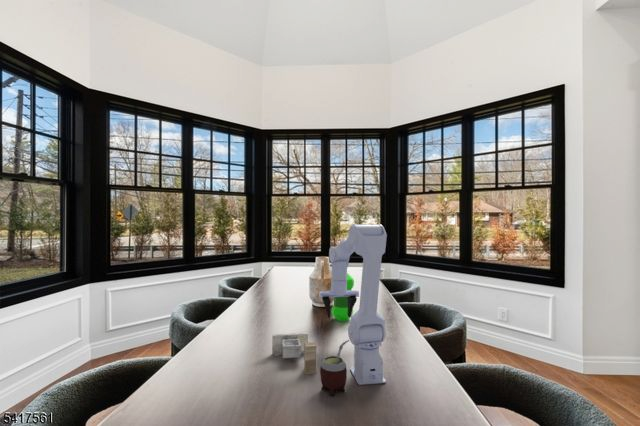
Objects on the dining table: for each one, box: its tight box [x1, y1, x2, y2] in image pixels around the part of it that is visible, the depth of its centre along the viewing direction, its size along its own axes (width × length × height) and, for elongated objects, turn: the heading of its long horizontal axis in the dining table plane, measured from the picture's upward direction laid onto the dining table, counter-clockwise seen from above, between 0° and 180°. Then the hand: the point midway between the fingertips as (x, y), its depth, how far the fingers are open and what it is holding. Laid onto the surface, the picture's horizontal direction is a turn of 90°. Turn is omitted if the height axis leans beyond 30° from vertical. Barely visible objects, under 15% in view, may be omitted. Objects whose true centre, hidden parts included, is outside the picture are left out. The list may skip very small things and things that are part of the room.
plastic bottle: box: [330, 272, 355, 322], centre depth 145 cm, size 10×10×25 cm
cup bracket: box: [271, 332, 309, 359], centre depth 104 cm, size 8×12×6 cm
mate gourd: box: [319, 339, 350, 398], centre depth 85 cm, size 8×8×15 cm
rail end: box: [303, 341, 317, 375], centre depth 96 cm, size 3×3×8 cm
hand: (338, 316), depth 116 cm, fingers open, 7 cm apart
